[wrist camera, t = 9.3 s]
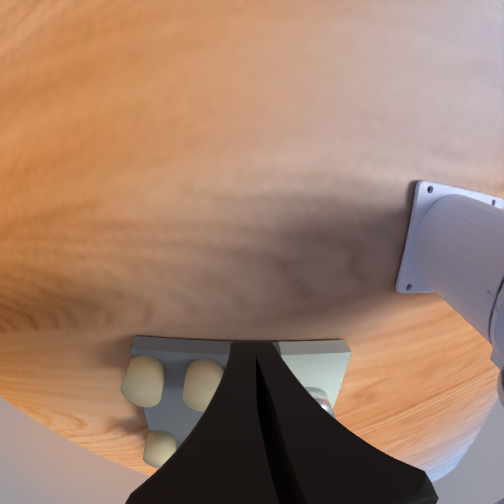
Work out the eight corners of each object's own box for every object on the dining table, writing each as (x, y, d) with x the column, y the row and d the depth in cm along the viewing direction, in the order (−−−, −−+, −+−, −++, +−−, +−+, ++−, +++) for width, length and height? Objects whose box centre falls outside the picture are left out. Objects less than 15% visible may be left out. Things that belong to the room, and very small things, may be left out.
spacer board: (344, 339, 22) (363, 374, 18) (308, 451, 27) (316, 482, 23) (131, 335, 20) (116, 372, 17) (157, 451, 25) (152, 482, 22)
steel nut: (330, 382, 21) (337, 402, 19) (326, 415, 23) (332, 433, 21) (276, 391, 21) (280, 411, 19) (277, 422, 22) (281, 442, 21)
